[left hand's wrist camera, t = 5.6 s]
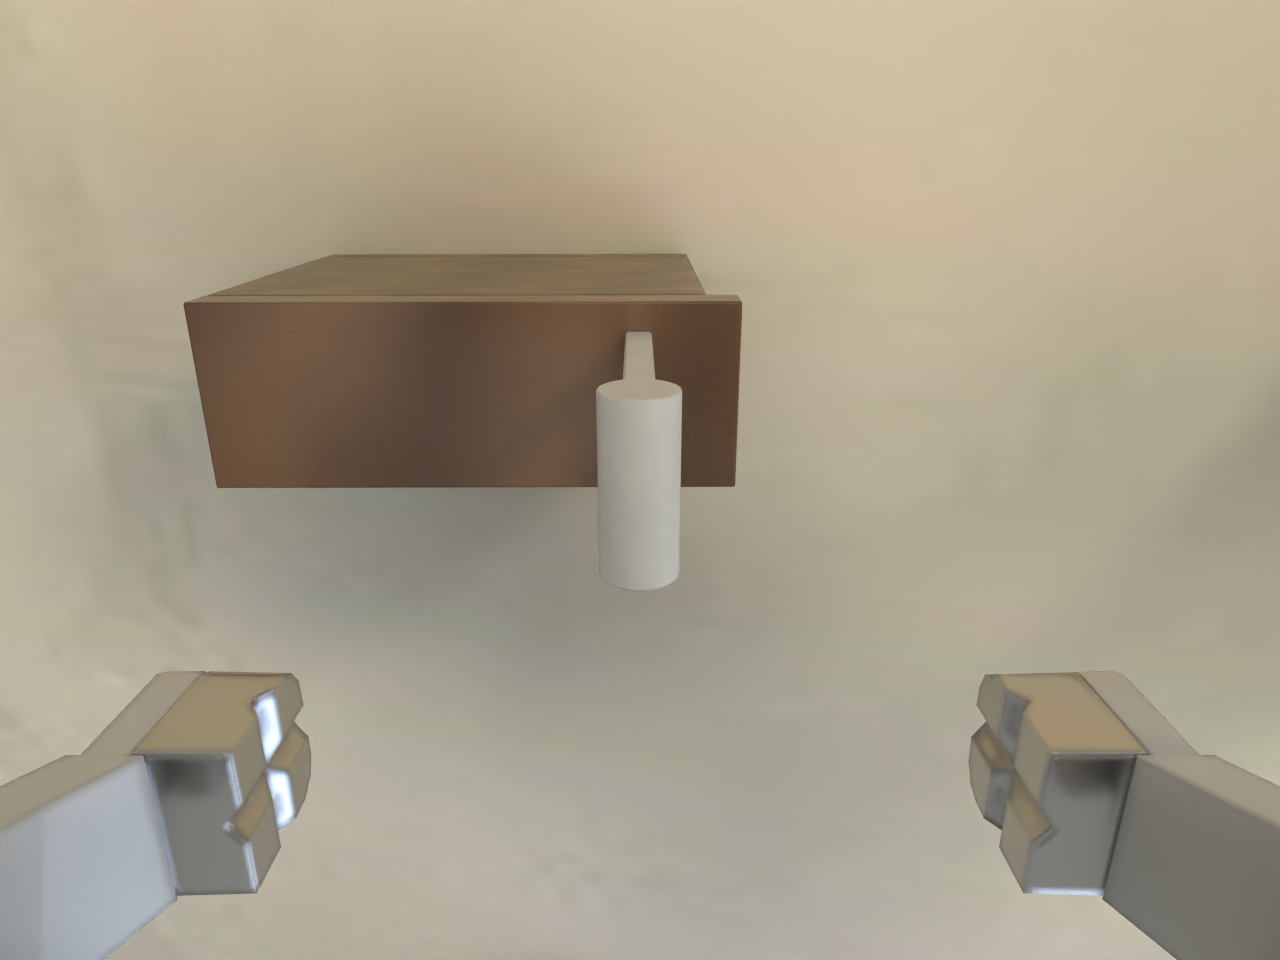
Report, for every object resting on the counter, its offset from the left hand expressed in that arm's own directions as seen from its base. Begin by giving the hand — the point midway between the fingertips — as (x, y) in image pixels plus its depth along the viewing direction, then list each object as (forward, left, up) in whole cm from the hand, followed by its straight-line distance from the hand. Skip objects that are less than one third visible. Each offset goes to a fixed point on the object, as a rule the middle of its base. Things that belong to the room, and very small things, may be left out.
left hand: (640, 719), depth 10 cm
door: (+2, -4, -16) cm, 16 cm away
